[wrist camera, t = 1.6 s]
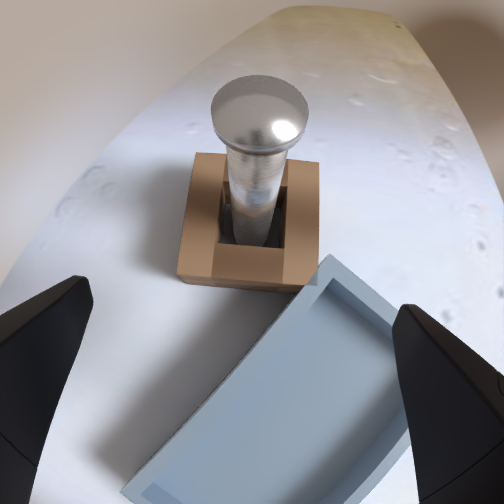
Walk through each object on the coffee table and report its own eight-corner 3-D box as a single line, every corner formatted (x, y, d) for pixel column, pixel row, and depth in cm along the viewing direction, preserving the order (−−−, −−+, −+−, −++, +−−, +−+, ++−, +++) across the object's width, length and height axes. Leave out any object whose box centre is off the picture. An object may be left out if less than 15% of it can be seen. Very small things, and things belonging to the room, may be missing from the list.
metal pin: (254, 264, 22) (268, 164, 9) (218, 235, 22) (190, 112, 10) (283, 229, 22) (326, 106, 10) (248, 202, 23) (253, 63, 10)
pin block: (305, 293, 21) (317, 285, 18) (187, 283, 21) (176, 273, 18) (309, 186, 23) (318, 162, 20) (202, 177, 23) (196, 152, 20)
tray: (263, 553, 16) (266, 578, 12) (135, 472, 17) (119, 491, 14) (433, 364, 20) (460, 366, 17) (316, 266, 22) (329, 253, 18)
